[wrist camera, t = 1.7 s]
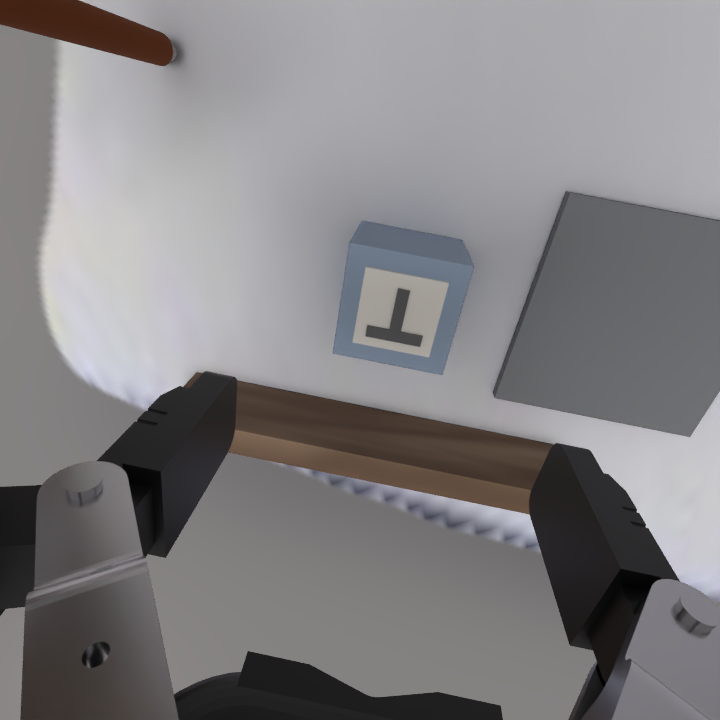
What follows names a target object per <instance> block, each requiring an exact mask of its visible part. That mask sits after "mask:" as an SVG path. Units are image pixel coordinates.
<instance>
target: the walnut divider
mask: <svg viewBox="0 0 720 720" xmlns="http://www.w3.org/2000/svg"><path fill="white" fill-rule="evenodd" d="M201 375H202V374H201V373H196V374H195V375H194V376H193V377H192V378H191V379H190V380H189V381H188V382H187V384H186V385H185V386H184V387H186V388H190V387H191V386H192V385H193V383H194V382H195V381H196V380H197V379H198V378H199V377H200V376H201ZM552 446H553V445H552V444H547V443H542V442H538V441H533V440H528V439H523V438H518V437H513V436H508V435H503V434H498V433H493V432H488V431H483V430H478V429H473V428H468V427H463V426H458V425H453V424H448V423H444V422H439V421H434V420H429V419H424V418H419V417H414V416H409V415H404V414H399V413H394V412H389V411H384V410H379V409H374V408H369V407H364V406H359V405H354V404H350V403H345V402H340V401H335V400H330V399H325V398H320V397H315V396H310V395H305V394H300V393H295V392H290V391H285V390H280V389H275V388H270V387H265V386H260V385H256V384H251V383H246V382H241V381H237V401H236V424H235V433H234V438H233V441H232V444H231V447H230V449H229V451H228V452H229V453H234V454H239V455H244V456H249V457H254V458H259V459H263V460H268V461H273V462H278V463H283V464H288V465H293V466H297V467H302V468H307V469H312V470H317V471H322V472H327V473H331V474H336V475H341V476H346V477H351V478H356V479H361V480H366V481H370V482H375V483H380V484H385V485H390V486H395V487H400V488H404V489H409V490H414V491H419V492H424V493H429V494H434V495H438V496H443V497H448V498H453V499H458V500H463V501H468V502H472V503H477V504H482V505H487V506H492V507H497V508H502V509H507V510H511V511H516V512H521V513H526V514H530V513H529V498H530V493H531V490H532V487H533V485H534V483H535V481H536V479H537V476H538V474H539V472H540V470H541V468H542V466H543V464H544V461H545V459H546V457H547V455H548V453H549V451H550V449H551V447H552Z"/></svg>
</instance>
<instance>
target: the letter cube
mask: <svg viewBox="0 0 720 720" xmlns="http://www.w3.org/2000/svg"><path fill="white" fill-rule="evenodd" d="M473 268H474V265H473V263H472V261H471V259H470V256H469V254H468V252H467V250H466V248H465V245H464V243H463V241H462V240H460V239H455V238H450V237H445V236H439V235H434V234H429V233H424V232H419V231H413V230H408V229H403V228H398V227H393V226H387V225H382V224H377V223H372V222H367V221H362V222H361V224H360V225H359V227H358V229H357V231H356V232H355V234H354V236H353V237H352V239H351V241H350V243H349V249H348V256H347V262H346V269H345V275H344V282H343V288H342V295H341V301H340V308H339V314H338V321H337V328H336V334H335V341H334V347H333V354H338V355H344V356H349V357H354V358H359V359H364V360H369V361H374V362H379V363H384V364H389V365H394V366H399V367H404V368H409V369H414V370H419V371H424V372H429V373H434V374H440V375H443V371H444V368H445V364H446V361H447V357H448V354H449V351H450V347H451V344H452V340H453V337H454V333H455V330H456V327H457V323H458V320H459V316H460V313H461V309H462V306H463V303H464V299H465V296H466V292H467V289H468V285H469V282H470V279H471V275H472V272H473Z"/></svg>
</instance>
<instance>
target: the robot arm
mask: <svg viewBox="0 0 720 720" xmlns="http://www.w3.org/2000/svg"><path fill="white" fill-rule="evenodd" d="M236 401H237V380H236V378H235V377H232V376H227V375H222V374H217V373H212V372H207V371H205V372H204V373H202V375H201V376H200V377H199V378H198V379H197V380H196V381H195V382H194V383H193V385H192V386H191V387H190V388H186V387H181V386H179V387H177V388H175V389H173V390H171V391H169V392H167V393H165V394H163V395H161V396H160V397H159V398H158V399H157V400H156V401H155V402H154V403H153V404H152V405H151V406H150V407H149V408H148V411H145V412H144V413H143V414H142V415H141V416H140V417H139V418H138V421H137V422H134V423H133V424H132V426H130V428H128V430H126V432H125V433H124V434H123V435H122V436H121V437H120V438H119V439H118V440H117V441H116V442H115V443H114V444H113V445H112V446H111V447H110V448H109V449H108V450H107V451H106V452H105V453H104V454H103V455H102V456H101V457H100V458H99V459H98V460H97V461H92V462H91V461H90V462H83V463H79V464H75V465H72V466H69V467H67V468H64V469H63V470H60V471H59V472H57V473H55V474H54V475H52V476H51V477H50V478H49V479H47V480H46V481H45V482H44V483H43V485H36V486H12V487H0V615H1V614H2V613H3V612H4V610H5V609H8V608H17V607H25V622H24V646H23V669H22V670H23V671H22V694H21V718H20V720H503V718H502V712H501V706H499V705H495V704H490V703H486V702H481V701H476V700H472V699H467V698H462V697H458V696H453V695H449V694H444V693H439V692H435V693H424V694H412V695H401V696H390V697H371V696H368V695H365V694H363V693H362V692H360V691H358V690H356V689H354V688H352V687H350V686H349V685H347V684H345V683H343V682H341V681H339V680H337V679H336V678H334V677H332V676H330V675H328V674H326V673H324V672H322V671H321V670H319V669H317V668H315V667H313V666H311V665H309V664H305V663H300V662H296V661H291V660H286V659H282V658H277V657H272V656H268V655H263V654H259V653H254V652H249V651H248V653H247V656H246V659H245V662H244V665H243V669H242V671H241V672H235V673H227V674H223V675H219V676H214V677H211V678H208V679H205V680H202V681H200V682H197V683H195V684H193V685H191V686H189V687H187V688H185V689H183V690H181V691H179V692H177V693H176V694H174V693H173V688H172V683H171V678H170V673H169V668H168V664H167V658H166V653H165V648H164V644H163V638H162V634H161V629H160V623H159V619H158V614H157V609H156V604H155V599H154V594H153V589H152V584H151V579H150V574H149V569H148V565H147V560H146V556H147V554H150V555H155V556H160V557H165V558H166V556H167V555H168V553H169V551H170V550H171V548H172V546H173V545H174V543H175V541H176V539H177V538H178V536H179V534H180V533H181V531H182V529H183V528H184V526H185V524H186V523H187V521H188V519H189V517H190V516H191V514H192V512H193V511H194V509H195V507H196V506H197V504H198V502H199V500H200V499H201V497H202V495H203V494H204V492H205V490H206V489H207V487H208V485H209V483H210V481H211V480H212V478H213V477H214V475H215V473H216V471H217V470H218V468H219V466H220V465H221V463H222V461H223V459H224V458H225V456H226V455H227V453H228V451H229V449H230V447H231V444H232V441H233V438H234V433H235V424H236ZM636 511H637V509H636V507H635V505H634V504H633V502H632V500H631V499H630V497H629V495H628V494H627V492H626V491H625V490H624V489H623V488H622V487H621V486H620V485H619V484H618V483H617V482H616V481H615V480H614V479H613V478H612V477H611V476H610V475H609V474H604V473H603V472H602V470H601V468H600V466H599V465H598V463H597V461H596V459H595V458H594V456H593V454H592V453H591V451H590V450H588V449H583V448H578V447H574V446H569V445H564V444H559V443H556V444H554V445H553V446H552V447H551V449H550V451H549V453H548V455H547V457H546V459H545V461H544V464H543V466H542V468H541V470H540V472H539V474H538V476H537V479H536V481H535V483H534V485H533V487H532V490H531V493H530V498H529V513H530V517H531V520H532V523H533V527H534V530H535V533H536V536H537V540H538V543H539V546H540V550H541V553H542V556H543V559H544V563H545V566H546V569H547V572H548V575H549V579H550V582H551V585H552V589H553V592H554V595H555V599H556V602H557V605H558V608H559V612H560V615H561V618H562V621H563V625H564V628H565V631H566V634H567V638H568V641H569V644H570V645H571V646H576V647H580V648H585V649H590V650H593V651H594V654H595V657H596V660H597V661H596V663H595V664H594V665H593V667H592V668H591V670H590V672H589V674H588V676H587V678H586V681H585V683H584V685H583V687H582V690H581V692H580V694H579V696H578V699H577V701H576V703H575V705H574V708H573V710H572V712H571V715H570V717H569V719H568V720H720V606H719V605H718V604H716V603H715V602H714V601H713V600H712V599H710V598H709V597H708V596H706V595H705V594H704V593H702V592H701V591H699V590H697V589H695V588H694V587H692V586H690V585H687V584H685V583H682V582H680V581H679V579H678V578H677V576H676V574H675V573H674V571H673V569H672V567H671V566H670V564H669V562H668V561H667V559H666V557H665V556H664V554H663V552H662V551H661V549H660V547H659V546H658V544H657V542H656V541H655V539H654V537H653V536H652V534H651V532H650V531H649V529H648V528H646V527H645V526H646V524H645V522H644V521H643V519H642V517H641V516H640V514H639V513H637V512H636Z"/></svg>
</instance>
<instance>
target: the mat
mask: <svg viewBox="0 0 720 720" xmlns="http://www.w3.org/2000/svg"><path fill="white" fill-rule="evenodd" d="M719 391H720V221H719V220H714V219H708V218H703V217H698V216H693V215H687V214H682V213H677V212H672V211H666V210H661V209H656V208H651V207H645V206H640V205H635V204H629V203H624V202H619V201H614V200H608V199H603V198H598V197H593V196H587V195H582V194H577V193H572V192H566V193H565V196H564V199H563V202H562V204H561V207H560V210H559V213H558V215H557V218H556V221H555V224H554V226H553V229H552V232H551V235H550V237H549V240H548V243H547V246H546V248H545V251H544V254H543V257H542V259H541V262H540V265H539V268H538V270H537V273H536V276H535V279H534V281H533V284H532V287H531V289H530V292H529V295H528V298H527V300H526V303H525V306H524V309H523V311H522V314H521V317H520V320H519V322H518V325H517V328H516V331H515V333H514V336H513V339H512V342H511V344H510V347H509V350H508V353H507V355H506V358H505V361H504V364H503V366H502V369H501V372H500V375H499V377H498V380H497V383H496V386H495V388H494V391H493V394H494V397H495V398H498V399H503V400H508V401H513V402H518V403H523V404H528V405H533V406H538V407H543V408H548V409H553V410H558V411H563V412H568V413H573V414H578V415H583V416H588V417H593V418H598V419H603V420H608V421H613V422H618V423H623V424H628V425H633V426H638V427H643V428H648V429H653V430H658V431H663V432H668V433H673V434H678V435H683V436H687V437H690V436H691V435H692V433H693V431H694V430H695V428H696V427H697V425H698V424H699V422H700V421H701V419H702V418H703V416H704V415H705V413H706V411H707V410H708V408H709V407H710V405H711V404H712V402H713V401H714V399H715V398H716V396H717V395H718V393H719Z"/></svg>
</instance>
